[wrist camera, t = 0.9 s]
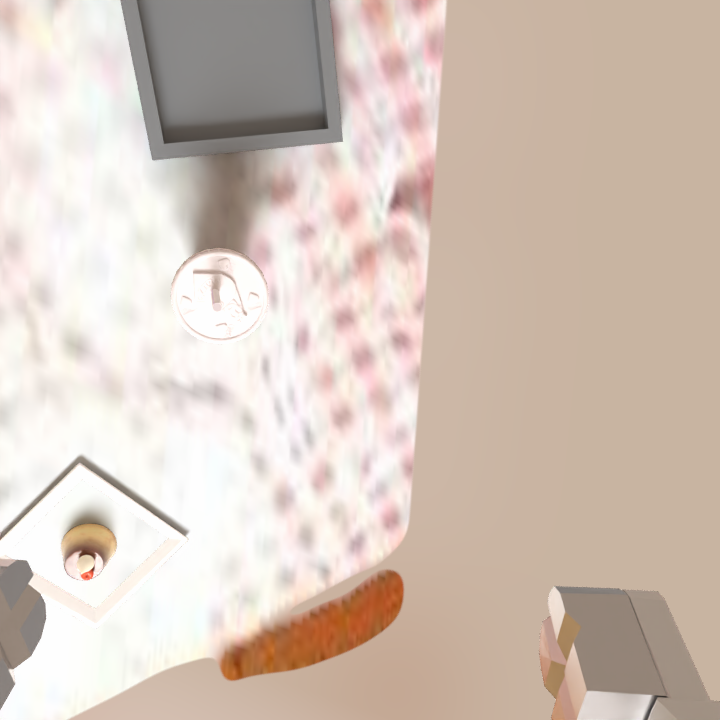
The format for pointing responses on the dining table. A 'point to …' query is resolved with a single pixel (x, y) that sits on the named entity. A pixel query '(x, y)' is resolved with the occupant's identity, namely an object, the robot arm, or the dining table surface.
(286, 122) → the tray
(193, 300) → the smoothie
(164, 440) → the dining table surface
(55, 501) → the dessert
